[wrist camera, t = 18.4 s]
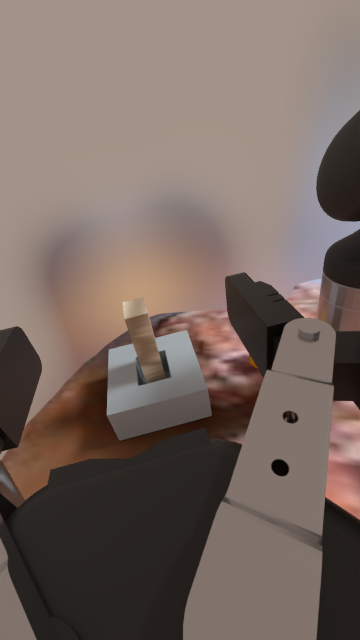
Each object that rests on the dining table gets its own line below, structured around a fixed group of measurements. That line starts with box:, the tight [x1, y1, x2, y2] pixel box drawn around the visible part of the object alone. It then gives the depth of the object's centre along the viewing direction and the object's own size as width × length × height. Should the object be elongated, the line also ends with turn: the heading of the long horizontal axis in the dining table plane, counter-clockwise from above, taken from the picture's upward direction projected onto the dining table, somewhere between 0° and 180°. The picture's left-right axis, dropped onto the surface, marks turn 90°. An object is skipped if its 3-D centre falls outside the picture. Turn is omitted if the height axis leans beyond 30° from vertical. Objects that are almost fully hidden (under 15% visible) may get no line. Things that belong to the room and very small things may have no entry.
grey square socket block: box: [107, 330, 212, 441], centre depth 45 cm, size 14×14×6 cm
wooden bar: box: [123, 297, 166, 384], centre depth 42 cm, size 3×4×16 cm
